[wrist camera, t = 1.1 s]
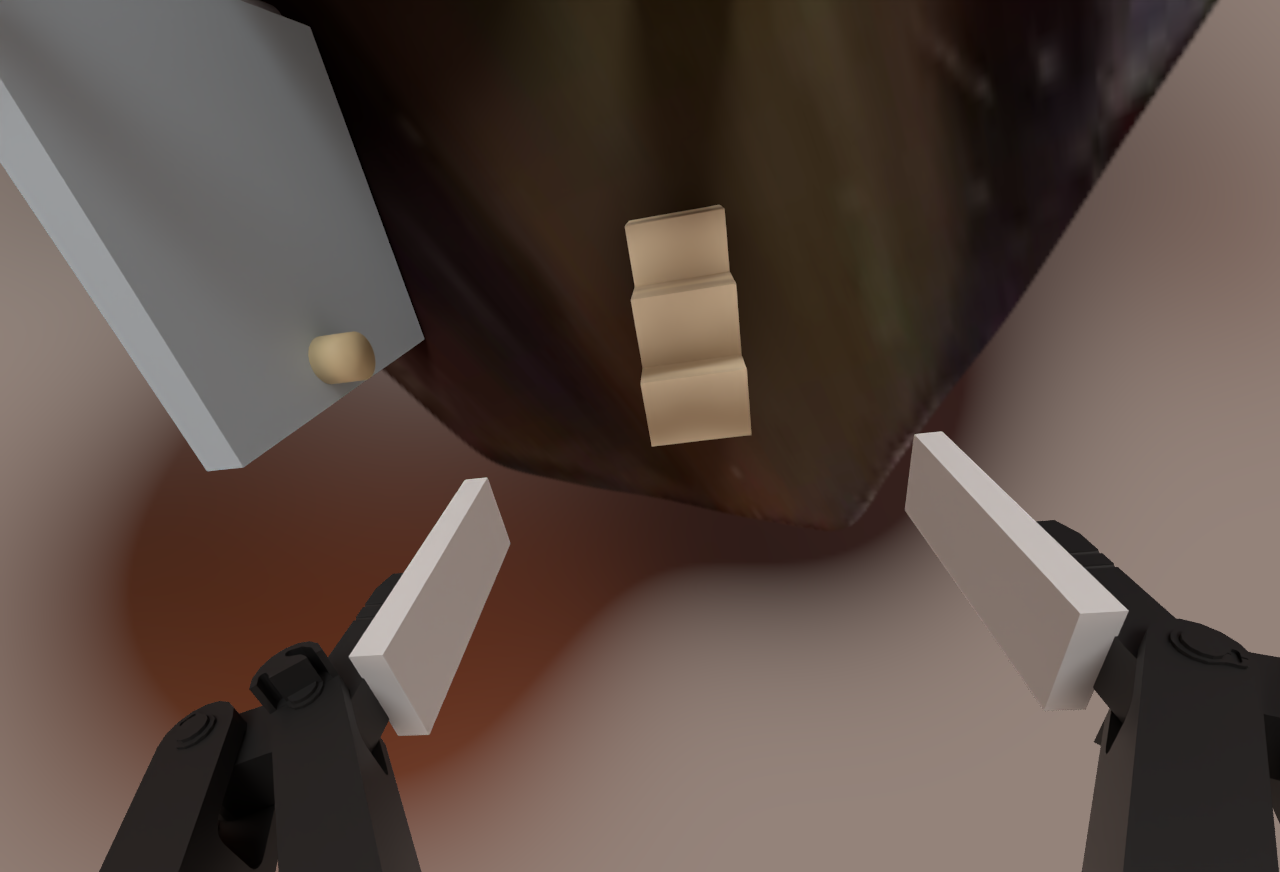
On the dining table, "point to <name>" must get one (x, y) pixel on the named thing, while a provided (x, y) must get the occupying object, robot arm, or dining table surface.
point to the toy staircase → (688, 327)
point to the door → (205, 206)
